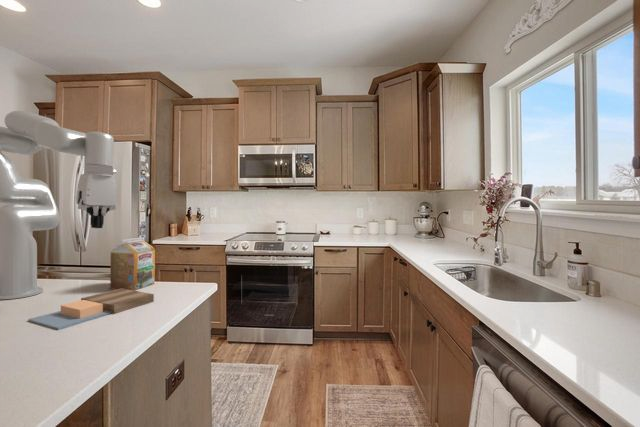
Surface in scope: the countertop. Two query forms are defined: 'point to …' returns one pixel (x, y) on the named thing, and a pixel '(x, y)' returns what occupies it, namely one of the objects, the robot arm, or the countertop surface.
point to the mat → (64, 319)
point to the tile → (81, 308)
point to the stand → (121, 299)
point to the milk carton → (132, 265)
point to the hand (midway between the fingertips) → (96, 227)
